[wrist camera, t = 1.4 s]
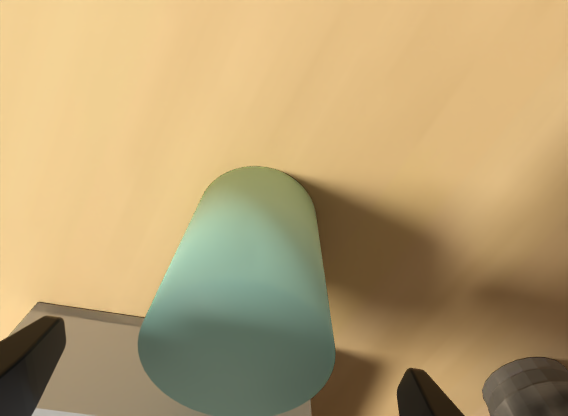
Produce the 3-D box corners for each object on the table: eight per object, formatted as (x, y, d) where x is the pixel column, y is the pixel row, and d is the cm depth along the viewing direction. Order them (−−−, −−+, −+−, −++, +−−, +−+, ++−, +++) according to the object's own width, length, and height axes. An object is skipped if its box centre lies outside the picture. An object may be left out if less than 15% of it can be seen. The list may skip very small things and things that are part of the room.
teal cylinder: (302, 277, 17) (310, 428, 11) (193, 260, 17) (136, 406, 10) (329, 178, 15) (359, 298, 8) (203, 155, 14) (138, 263, 8)
